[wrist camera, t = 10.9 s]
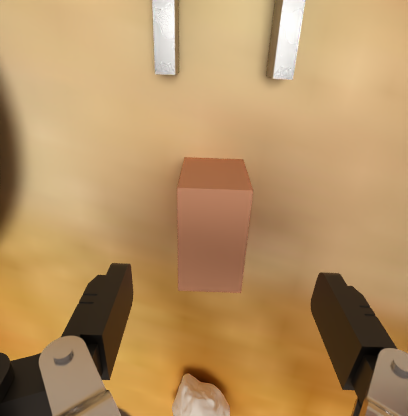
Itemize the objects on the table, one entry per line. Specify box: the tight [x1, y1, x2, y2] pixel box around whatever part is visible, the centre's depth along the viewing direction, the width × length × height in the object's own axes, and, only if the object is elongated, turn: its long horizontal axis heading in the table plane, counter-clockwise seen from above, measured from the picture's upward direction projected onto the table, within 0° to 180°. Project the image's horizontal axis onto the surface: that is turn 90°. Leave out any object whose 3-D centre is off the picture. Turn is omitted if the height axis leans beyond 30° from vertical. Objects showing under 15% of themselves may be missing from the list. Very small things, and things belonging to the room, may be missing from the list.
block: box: [177, 157, 253, 293], centre depth 22 cm, size 8×4×6 cm, turn 178°
